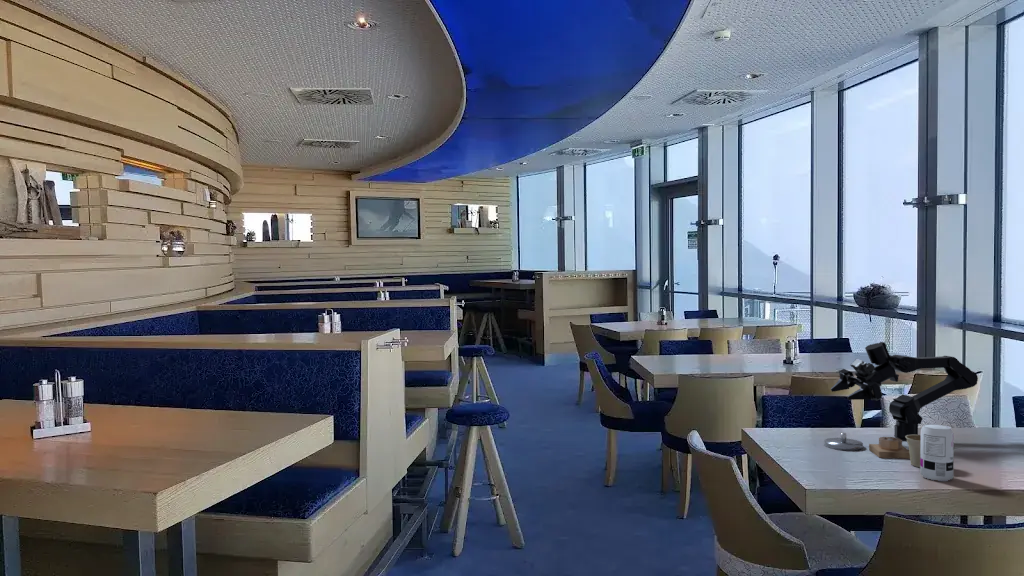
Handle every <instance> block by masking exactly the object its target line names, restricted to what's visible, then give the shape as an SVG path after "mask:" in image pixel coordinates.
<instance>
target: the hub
mask: <svg viewBox="0 0 1024 576" xmlns="http://www.w3.org/2000/svg"><path fill="white" fill-rule="evenodd" d="M823 442H824V446H825V447H826V448H828V449H832V450H838V451H849V452H851V451H853V452H855V451H856V450H857V451H861V450H864V443H863V442H862V441H859V440H858V439H854V438H853V439H852V438H847V433H846V432H840V437H829V438H824V441H823Z"/></svg>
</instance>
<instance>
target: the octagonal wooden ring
mask: <svg viewBox="0 0 1024 576" xmlns="http://www.w3.org/2000/svg"><path fill="white" fill-rule="evenodd" d="M888 439H893V440H888ZM878 444H879V447H880V448H881V449H885V450H891V451H899V450H902V446H903V440H901V439H899V438H896V437H895V436H894V437H893V436H892V437H891V436H880V437H878Z"/></svg>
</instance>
